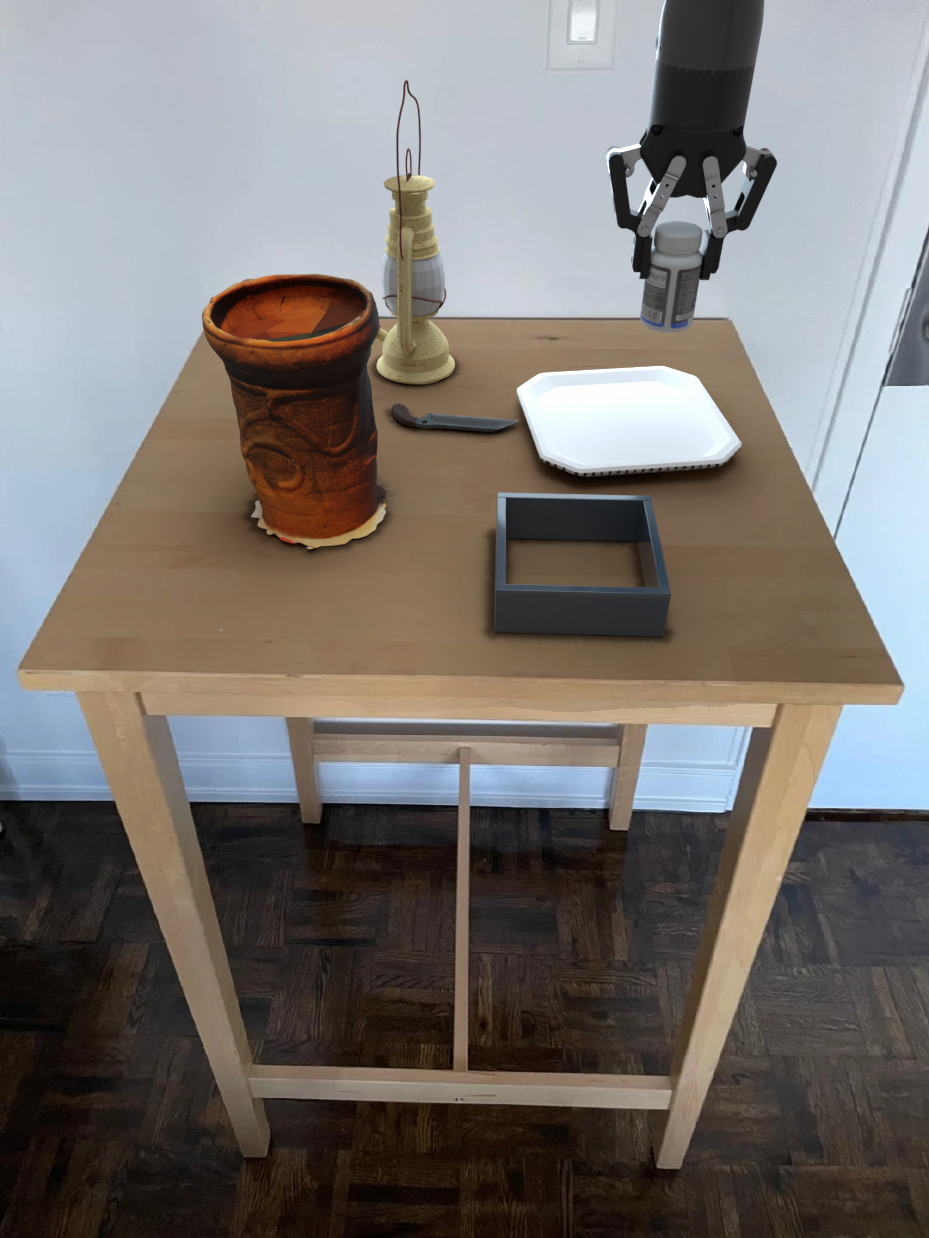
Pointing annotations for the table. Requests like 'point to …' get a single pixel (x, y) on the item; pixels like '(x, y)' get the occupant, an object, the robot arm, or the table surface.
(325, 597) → the table surface
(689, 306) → the pill bottle
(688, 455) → the plate
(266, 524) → the vessel
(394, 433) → the table surface
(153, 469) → the table surface
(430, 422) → the knife
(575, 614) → the square frame
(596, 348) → the table surface
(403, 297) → the lantern
